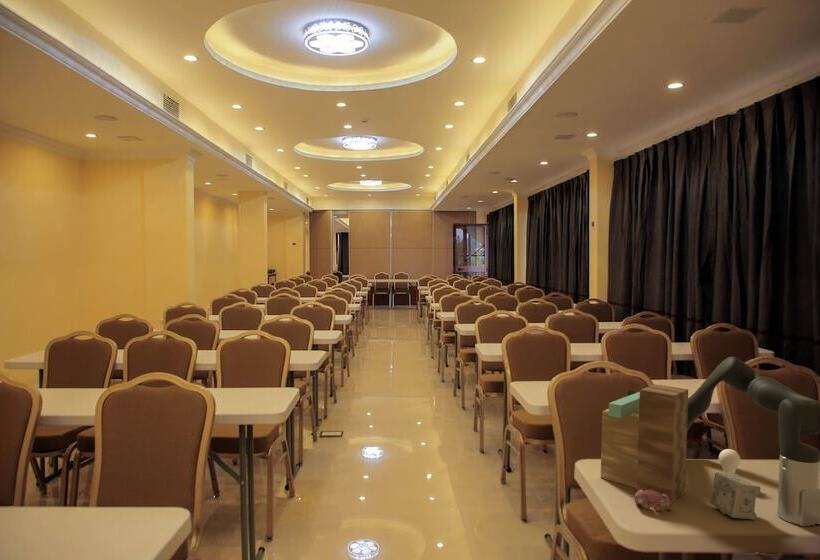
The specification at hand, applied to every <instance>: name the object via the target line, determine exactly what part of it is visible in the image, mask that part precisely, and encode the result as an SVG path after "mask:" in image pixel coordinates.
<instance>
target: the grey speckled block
mask: <svg viewBox="0 0 820 560" xmlns="http://www.w3.org/2000/svg"><path fill="white" fill-rule="evenodd" d="M712 484H713V485H712V490H711V495H710V499H709V500H710V501H709V503H710V505H712V506H713V507H715V508H717V509H718V510H720V513H721V514H722V515H723V516H725V515H727V516H730V517H731V518H734V519H741V520H742V519H747V520H752V521H756V520H757V518H758V517H757V514H756V512H755V510H756V509H755V507H756V498H757V496H759V495H760V492H761V486H760V485H758V484H754V483H751V482H749V481H747V480H746V479H744V478H742V477H741V476H740V475H739V474H737V473H735V474H729V473H723V472H720V471H715V473H714V478H713V483H712Z"/></svg>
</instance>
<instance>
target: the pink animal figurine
mask: <svg viewBox="0 0 820 560" xmlns="http://www.w3.org/2000/svg"><path fill="white" fill-rule="evenodd" d="M633 500H634V503H635V504H636V505H641V507H642V508H643V509H646V510H650V508H651V506H652V505H651V503H653V510H655V511H656V512H662V511H663V510H664V509H666V510H667V511H670V510H671V509H672V504H671V501H670V499H669V497H668V496H667V495H666V494H661V493H659V492H656V491H653V490H646V491H643V490H639V491H637V490H636V492H635V494H634V499H633Z"/></svg>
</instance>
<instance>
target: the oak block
mask: <svg viewBox="0 0 820 560" xmlns="http://www.w3.org/2000/svg"><path fill="white" fill-rule="evenodd" d="M601 413H602V415H601V417H602V418H601V444H600V445H601V446H600V447H601V450H600V451H601V453H600V456H601V457H600V479H602V478H604V479H603V480H606V479H608V480H607V481H609V480H611V481H610V482H613V481H614V483H617V482H618V484H620V483H622V485H624V484H625V485H624V486H627V485H628V487H631V488H634V489H637V470H638V434H639V411H636V412H634V413H632V414H630V415H627V416H625V417H623V418H617V417H612V416H608V413H609V408H606V409H604V410H602V411H601Z"/></svg>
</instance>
